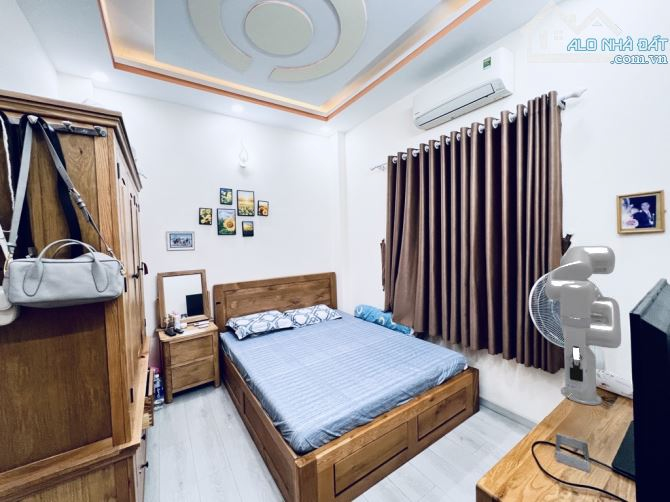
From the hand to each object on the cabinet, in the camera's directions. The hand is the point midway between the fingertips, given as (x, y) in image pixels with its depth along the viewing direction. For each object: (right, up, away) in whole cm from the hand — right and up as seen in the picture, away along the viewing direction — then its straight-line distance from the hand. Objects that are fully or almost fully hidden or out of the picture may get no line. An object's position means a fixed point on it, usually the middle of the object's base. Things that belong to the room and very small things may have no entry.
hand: (575, 375), depth 93 cm
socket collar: (-8, -20, -8) cm, 23 cm away
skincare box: (0, -4, 0) cm, 4 cm away
